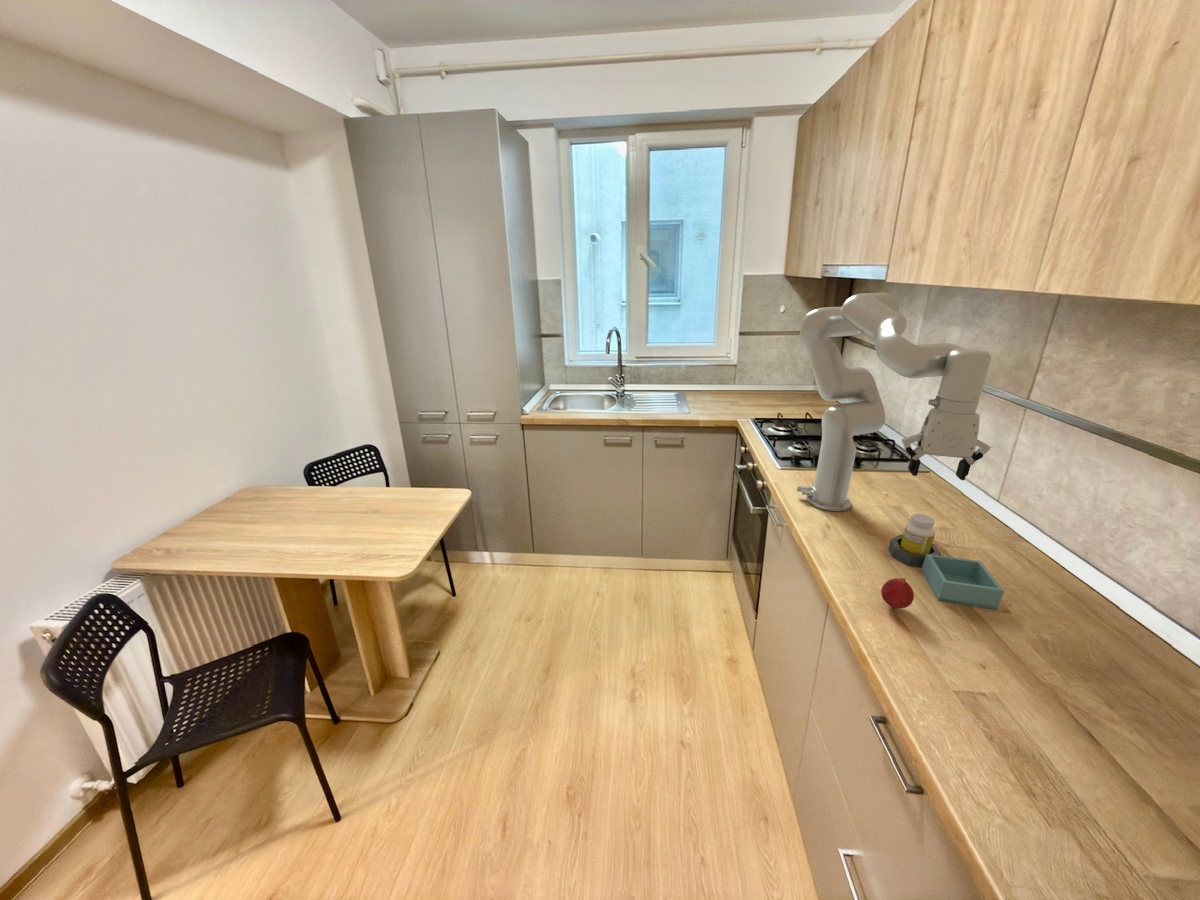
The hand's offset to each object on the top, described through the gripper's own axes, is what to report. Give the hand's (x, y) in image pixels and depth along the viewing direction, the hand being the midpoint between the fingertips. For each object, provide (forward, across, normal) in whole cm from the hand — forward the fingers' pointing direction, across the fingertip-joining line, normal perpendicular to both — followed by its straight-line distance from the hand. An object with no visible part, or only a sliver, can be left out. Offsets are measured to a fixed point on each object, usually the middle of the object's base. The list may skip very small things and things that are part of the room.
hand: (936, 475), depth 110 cm
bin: (+23, +5, -12) cm, 26 cm away
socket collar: (+22, 0, 0) cm, 23 cm away
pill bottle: (+23, 0, 0) cm, 23 cm away
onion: (+23, -10, -22) cm, 34 cm away
